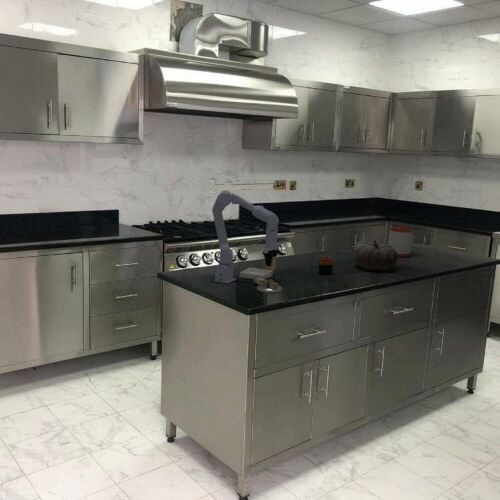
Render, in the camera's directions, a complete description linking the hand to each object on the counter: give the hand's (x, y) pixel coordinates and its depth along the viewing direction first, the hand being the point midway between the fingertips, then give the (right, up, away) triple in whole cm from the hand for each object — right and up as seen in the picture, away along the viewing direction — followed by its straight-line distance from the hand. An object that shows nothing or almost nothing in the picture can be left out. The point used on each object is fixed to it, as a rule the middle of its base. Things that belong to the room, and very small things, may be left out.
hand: (270, 265), depth 269 cm
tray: (-7, -6, +11) cm, 14 cm away
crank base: (-1, -11, -13) cm, 17 cm away
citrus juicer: (+87, +4, +81) cm, 119 cm away
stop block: (0, -2, 0) cm, 2 cm away
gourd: (+61, -3, +40) cm, 73 cm away
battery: (+30, -6, +22) cm, 38 cm away
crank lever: (-3, -9, -10) cm, 14 cm away
